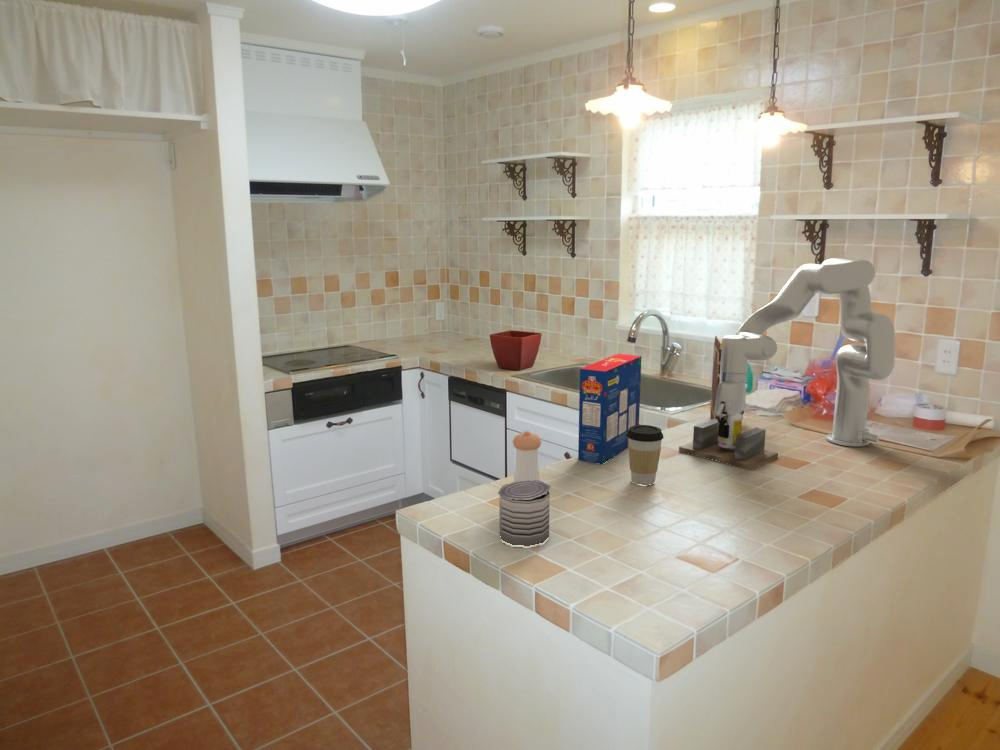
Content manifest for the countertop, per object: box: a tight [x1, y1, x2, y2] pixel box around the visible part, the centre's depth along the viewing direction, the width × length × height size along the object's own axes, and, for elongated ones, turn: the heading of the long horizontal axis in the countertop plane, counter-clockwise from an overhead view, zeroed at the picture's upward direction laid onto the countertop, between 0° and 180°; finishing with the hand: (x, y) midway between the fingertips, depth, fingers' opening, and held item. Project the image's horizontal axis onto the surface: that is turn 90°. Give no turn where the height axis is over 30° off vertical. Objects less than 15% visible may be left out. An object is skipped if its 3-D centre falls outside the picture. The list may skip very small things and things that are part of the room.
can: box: [497, 479, 552, 546], centre depth 157 cm, size 11×11×12 cm
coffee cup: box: [626, 424, 664, 485], centre depth 190 cm, size 10×10×15 cm
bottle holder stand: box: [678, 419, 779, 471], centre depth 213 cm, size 24×16×8 cm, turn 43°
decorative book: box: [709, 335, 722, 420], centre depth 242 cm, size 22×8×30 cm, turn 168°
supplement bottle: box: [718, 409, 743, 449], centre depth 213 cm, size 7×7×13 cm
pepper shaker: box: [512, 430, 542, 482], centre depth 175 cm, size 7×7×19 cm
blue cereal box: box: [577, 353, 642, 465], centre depth 217 cm, size 28×8×28 cm, turn 148°
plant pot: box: [489, 330, 543, 371], centre depth 345 cm, size 19×19×17 cm
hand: (729, 434), depth 213 cm, fingers closed on supplement bottle, 6 cm apart
